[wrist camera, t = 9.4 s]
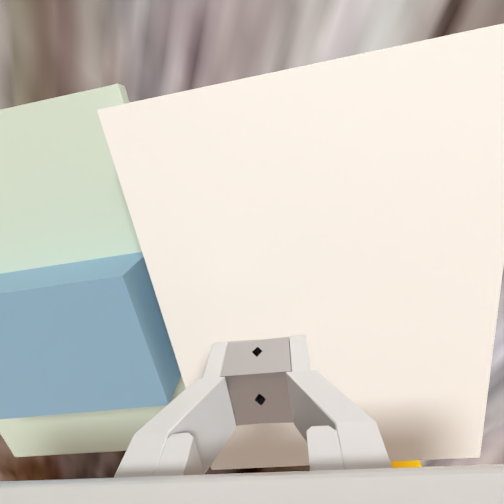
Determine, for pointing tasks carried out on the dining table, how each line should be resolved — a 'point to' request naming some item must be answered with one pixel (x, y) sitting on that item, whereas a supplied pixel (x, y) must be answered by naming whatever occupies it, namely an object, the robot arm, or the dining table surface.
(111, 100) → the mat
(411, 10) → the dining table surface
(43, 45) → the dining table surface
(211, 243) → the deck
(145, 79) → the dining table surface
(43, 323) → the tile
